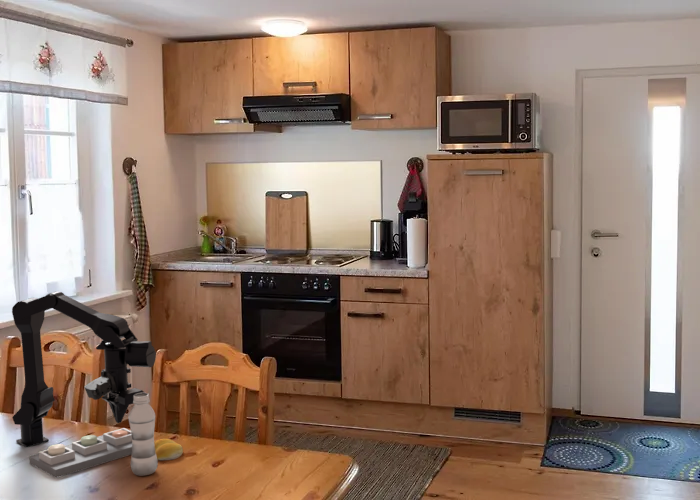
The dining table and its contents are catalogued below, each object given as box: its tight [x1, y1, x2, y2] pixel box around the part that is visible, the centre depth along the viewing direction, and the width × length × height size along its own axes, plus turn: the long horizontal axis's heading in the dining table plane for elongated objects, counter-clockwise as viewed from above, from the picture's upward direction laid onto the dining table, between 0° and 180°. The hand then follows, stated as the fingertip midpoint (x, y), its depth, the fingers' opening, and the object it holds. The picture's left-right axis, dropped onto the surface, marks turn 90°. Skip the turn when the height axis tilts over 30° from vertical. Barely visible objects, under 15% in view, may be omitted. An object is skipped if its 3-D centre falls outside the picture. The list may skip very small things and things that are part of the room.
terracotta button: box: [112, 430, 128, 438], centre depth 224 cm, size 4×4×2 cm
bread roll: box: [154, 438, 184, 461], centre depth 218 cm, size 8×9×4 cm
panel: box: [28, 427, 132, 478], centre depth 217 cm, size 14×26×4 cm, turn 136°
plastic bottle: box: [128, 392, 159, 477], centre depth 204 cm, size 6×7×20 cm
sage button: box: [80, 434, 98, 447], centre depth 217 cm, size 4×4×2 cm
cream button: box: [47, 443, 66, 456], centre depth 210 cm, size 4×4×2 cm
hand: (118, 422), depth 223 cm, fingers closed
